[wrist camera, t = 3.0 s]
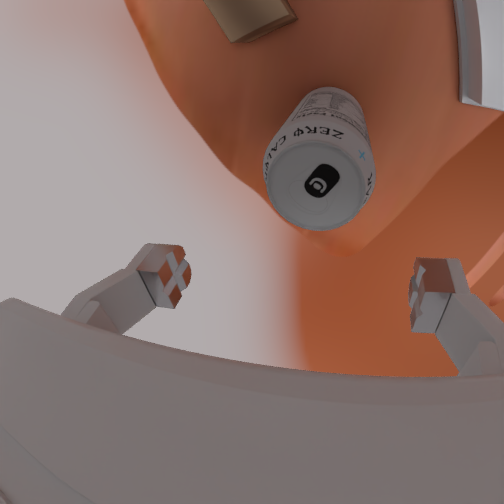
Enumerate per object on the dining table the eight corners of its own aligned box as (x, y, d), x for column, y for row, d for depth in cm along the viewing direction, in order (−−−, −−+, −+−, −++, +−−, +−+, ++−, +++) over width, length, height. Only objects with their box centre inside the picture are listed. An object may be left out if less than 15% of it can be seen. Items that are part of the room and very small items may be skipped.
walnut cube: (271, -23, 18) (255, -36, 14) (298, 19, 20) (289, 14, 16) (223, 1, 20) (200, -4, 16) (249, 42, 22) (230, 42, 19)
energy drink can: (286, 121, 27) (232, 195, 16) (322, 72, 23) (299, 101, 12) (337, 158, 27) (325, 258, 16) (376, 113, 23) (404, 185, 12)
